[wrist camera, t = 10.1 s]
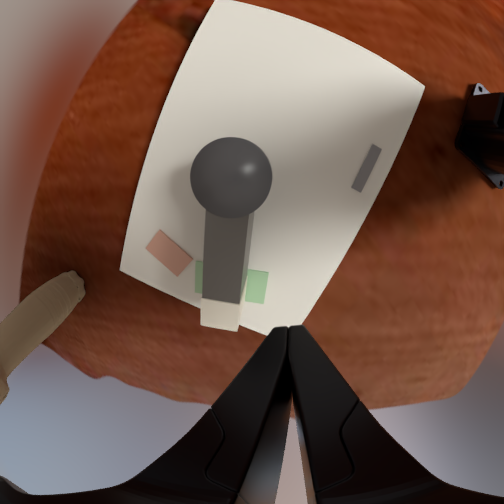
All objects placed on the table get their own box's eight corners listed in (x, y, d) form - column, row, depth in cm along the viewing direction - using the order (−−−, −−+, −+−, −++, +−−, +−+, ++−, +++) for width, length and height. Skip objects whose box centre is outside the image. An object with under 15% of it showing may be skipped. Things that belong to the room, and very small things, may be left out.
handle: (53, 284, 24) (-36, 367, 10) (69, 246, 22) (-47, 335, 8) (83, 314, 25) (1, 410, 11) (103, 281, 22) (-3, 392, 9)
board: (418, 88, 14) (426, 86, 12) (288, 335, 22) (288, 344, 21) (219, 3, 13) (216, -4, 12) (125, 265, 21) (118, 271, 20)
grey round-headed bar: (212, 135, 16) (193, 134, 12) (278, 141, 15) (276, 141, 12) (203, 291, 20) (187, 322, 16) (256, 300, 20) (251, 333, 16)
